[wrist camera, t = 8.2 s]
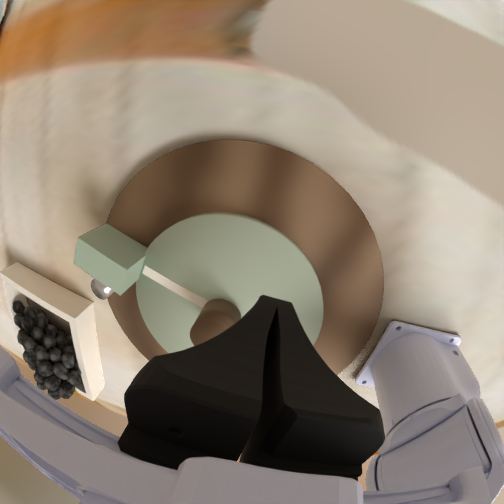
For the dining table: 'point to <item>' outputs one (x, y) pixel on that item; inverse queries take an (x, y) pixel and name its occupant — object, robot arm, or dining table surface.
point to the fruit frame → (67, 307)
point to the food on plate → (3, 8)
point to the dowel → (100, 289)
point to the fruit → (47, 352)
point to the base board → (271, 212)
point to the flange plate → (203, 271)
